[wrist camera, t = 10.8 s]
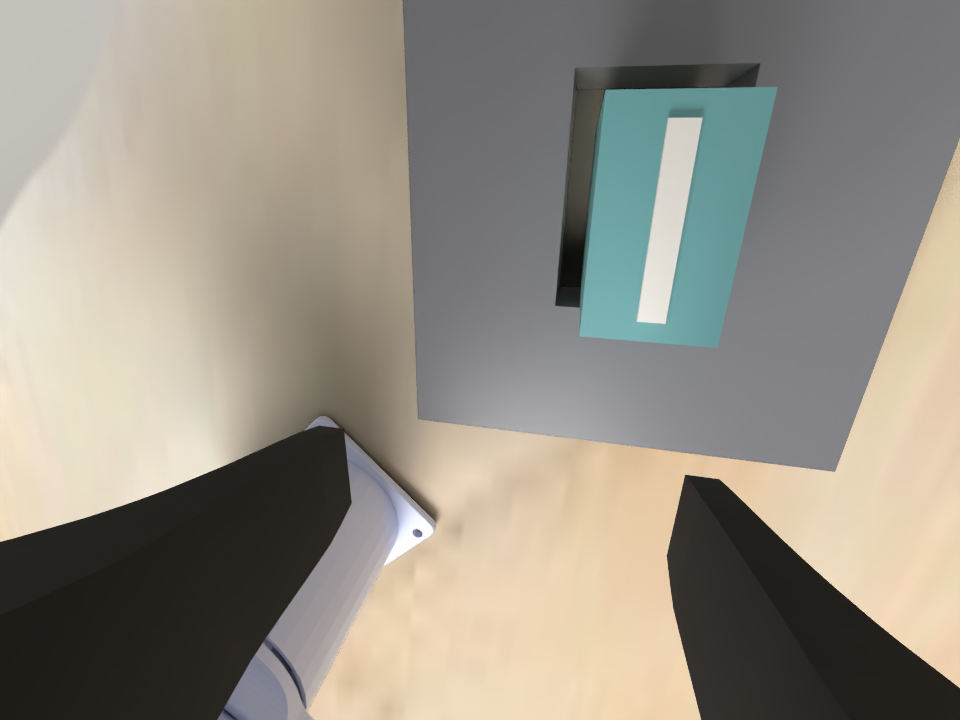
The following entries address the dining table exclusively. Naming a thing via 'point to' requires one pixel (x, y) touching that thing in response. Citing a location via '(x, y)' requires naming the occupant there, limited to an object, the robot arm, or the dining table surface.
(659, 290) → the keyed peg
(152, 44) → the dining table surface
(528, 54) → the keyed socket
